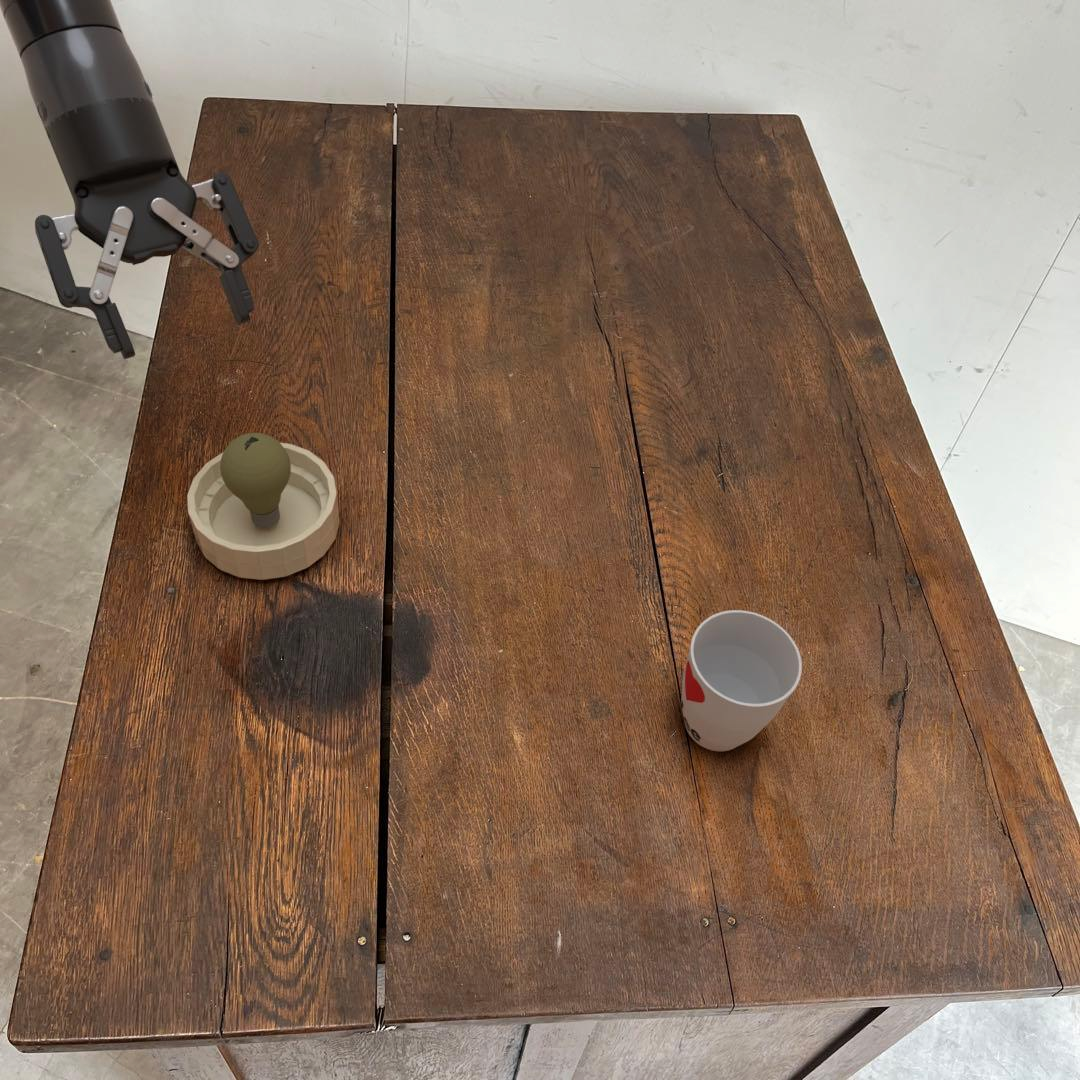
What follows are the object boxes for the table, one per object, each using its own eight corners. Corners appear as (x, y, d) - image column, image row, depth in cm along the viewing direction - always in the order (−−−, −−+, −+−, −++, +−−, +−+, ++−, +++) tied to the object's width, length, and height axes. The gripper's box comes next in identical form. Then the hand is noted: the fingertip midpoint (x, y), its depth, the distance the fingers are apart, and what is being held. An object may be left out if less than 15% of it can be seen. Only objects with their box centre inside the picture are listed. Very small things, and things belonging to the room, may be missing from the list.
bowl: (228, 604, 85) (219, 572, 82) (176, 505, 91) (166, 471, 88) (362, 549, 90) (360, 517, 86) (305, 458, 96) (300, 424, 92)
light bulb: (242, 494, 92) (225, 414, 84) (305, 501, 92) (293, 422, 84) (226, 543, 88) (206, 464, 80) (291, 550, 88) (277, 472, 81)
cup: (673, 668, 85) (697, 599, 77) (770, 691, 84) (805, 624, 76) (659, 755, 80) (683, 691, 72) (762, 780, 79) (798, 717, 71)
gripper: (192, 111, 78) (270, 319, 81) (-6, 152, 72) (87, 374, 76) (206, 75, 71) (290, 304, 74) (-11, 118, 66) (90, 363, 69)
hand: (187, 339), depth 75 cm, fingers open, 8 cm apart
